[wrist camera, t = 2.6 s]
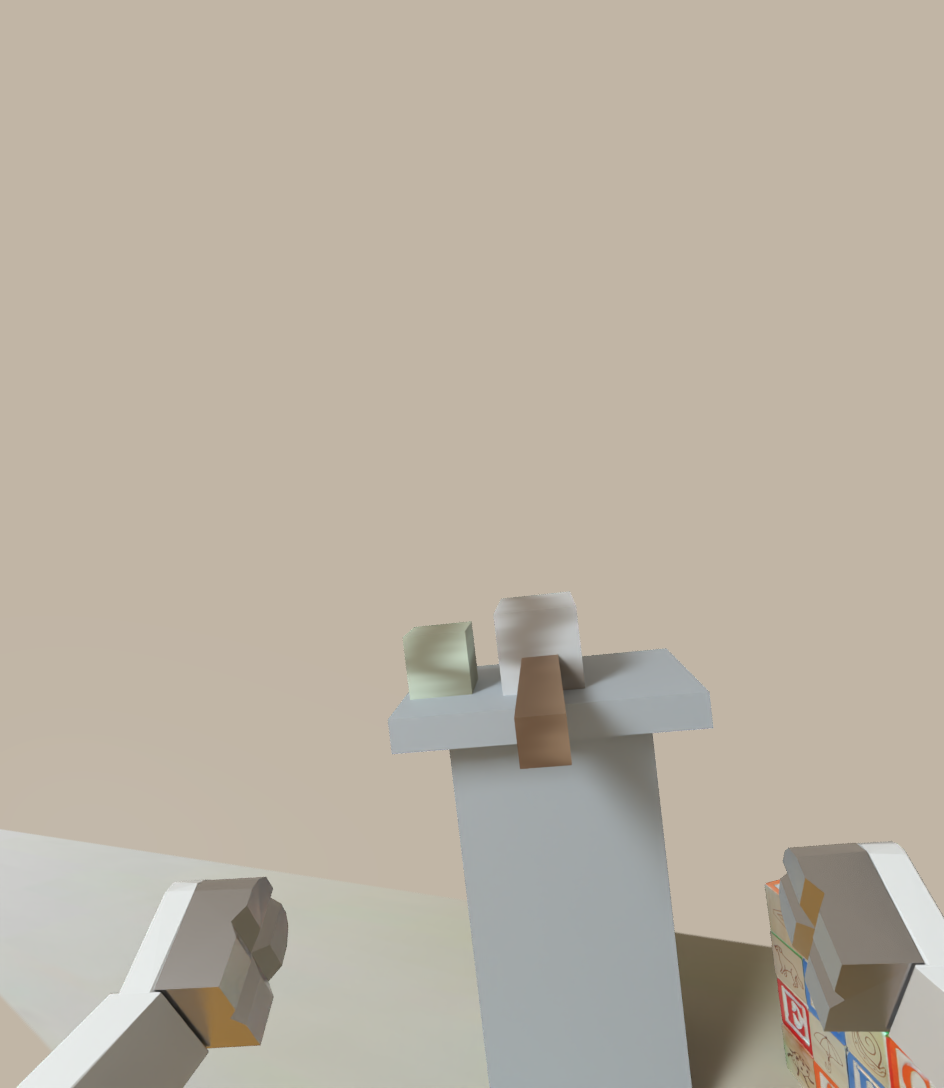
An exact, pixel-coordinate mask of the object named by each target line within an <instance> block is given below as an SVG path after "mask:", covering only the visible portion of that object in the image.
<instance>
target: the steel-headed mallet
mask: <svg viewBox="0 0 944 1088" xmlns="http://www.w3.org/2000/svg"><path fill="white" fill-rule="evenodd" d="M494 623H495V631H496V640H497V649H498V658H499V666H500V675H501V683H502V692H503V696H505V695H516V694H517V698H516V706H515V714H514V722H515V731H516V739H517V748H518V756H519V765H520V769H529V768H542V767H555V766H568V765H572V760H571V751H570V742H569V733H568V725H567V716H566V708H565V701H564V694H563V690H573V689H584V688H585V680H584V672H583V663H582V655H581V645H580V637H579V629H578V619H577V611H576V605H575V603H574V600H573V598H572V596H571V593H570V592H560V593H551V594H542V595H532V596H523V597H513V598H503V599H501V600H500V602H499V604H498V607H497V608H496V610H495V613H494Z"/></svg>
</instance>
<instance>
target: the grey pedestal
mask: <svg viewBox="0 0 944 1088" xmlns="http://www.w3.org/2000/svg"><path fill="white" fill-rule="evenodd" d="M582 663H583V672H584V680H585V688H584V689H573V690H563V694H564V701H565V708H566V716H567V725H568V733H569V742H570V751H571V760H572V765H568V766H555V767H542V768H529V769H520V765H519V756H518V748H517V739H516V731H515V722H514V714H515V706H516V698H517V694H516V695H505V696H503V692H502V683H501V675H500V666H499V664H497V665H486V666H477V672H478V681H477V683H476V686H475V688H474V691H473V694H469V695H458V696H447V697H436V698H425V699H413V700H410V694H409V693H408V694H407V695H406V697H405V698H404V699H403V700H402V702H401V703H400V705H399V706H398V707H397V708H396V710H395V711H394V712H393V714H392V715H391V716H390V718H389V719H388V725H389V733H390V741H391V750H392V754H398V753H411V752H423V751H435V750H448V749H449V750H450V758H451V766H452V775H453V783H454V792H455V800H456V808H457V817H458V825H459V832H460V842H461V850H462V858H463V867H464V875H465V884H466V892H467V901H468V909H469V917H470V926H471V934H472V942H473V951H474V959H475V968H476V976H477V984H478V993H479V1001H480V1009H481V1018H482V1026H483V1035H484V1043H485V1051H486V1060H487V1068H488V1077H489V1085H490V1088H692V1084H691V1075H690V1066H689V1057H688V1048H687V1039H686V1030H685V1021H684V1012H683V1003H682V994H681V985H680V976H679V968H678V959H677V950H676V941H675V932H674V923H673V914H672V905H671V896H670V888H669V878H668V870H667V860H666V851H665V842H664V833H663V825H662V816H661V807H660V797H659V788H658V780H657V771H656V761H655V753H654V744H653V735H652V733H658V732H670V731H682V730H695V729H708V728H713V722H712V712H711V703H710V694H709V691H708V690H707V689H706V688H705V687H704V686H703V685H702V684H701V683H700V682H699V681H698V680H697V679H696V678H695V677H694V676H693V675H692V674H691V673H690V672H689V671H688V670H687V669H686V668H685V667H684V666H683V665H682V664H681V663H680V662H679V661H678V660H677V659H676V658H675V657H674V656H673V655H672V654H671V653H670V652H669V651H668V650H667V649H656V650H645V651H635V652H625V653H614V654H603V655H592V656H582Z"/></svg>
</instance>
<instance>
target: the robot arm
mask: <svg viewBox="0 0 944 1088" xmlns="http://www.w3.org/2000/svg"><path fill="white" fill-rule="evenodd" d="M783 863H784V866H785V868H786V871H787V874H786V875H785V876H783V877H782V878H781V879H780V885H779V899H780V907H781V913H782V916H783V920H784V924H785V927H786V930H787V933H788V936H789V939H790V941H791V944H792V946H793V947H794V948H795V949H796V950H797V951H798V952H799V953H800V954H801V955H802V956H803V957H805V958H806V959H807V960H808V963H807V968H806V973H805V978H804V980H805V983H806V985H807V988H808V991H809V993H810V996H811V999H812V1001H813V1004H814V1007H815V1009H816V1012H817V1015H818V1017H819V1020H820V1023H821V1025H822V1028H823V1031H824V1032H889V1035H888V1036H889V1037H890V1038H891V1039H892V1040H893V1041H894V1042H895V1043H896V1044H897V1045H898V1046H899V1048H900V1049H901V1050H902V1051H903V1052H904V1053H905V1054H906V1055H907V1056H908V1057H909V1058H910V1059H911V1061H912V1062H913V1063H914V1064H915V1065H916V1066H917V1067H918V1068H919V1069H920V1070H921V1071H922V1072H923V1073H924V1075H925V1076H926V1077H927V1078H928V1079H929V1080H930V1081H931V1082H932V1083H933V1084H934V1085H935V1086H936V1088H944V916H943V915H942V913H941V911H940V909H939V908H938V906H937V904H936V903H935V901H934V899H933V897H932V896H931V894H930V893H929V891H928V889H927V887H926V886H925V884H924V882H923V880H922V879H921V877H920V875H919V874H918V872H917V870H916V868H915V867H914V865H913V863H912V862H911V860H910V858H909V857H908V855H907V853H906V851H905V850H904V849H903V848H902V847H901V846H900V845H898V844H897V843H895V842H892V841H888V842H873V843H848V844H834V845H822V846H808V847H794V848H788V849H787V850H785V853H784V858H783ZM272 890H273V887H272V886H271V884H270V883H269V881H268V879H267V878H266V877H256V878H238V879H220V880H193V881H179V882H174V883H173V884H172V885H171V886H170V887H169V889H168V890H167V891H166V892H165V894H164V896H163V898H162V900H161V902H160V904H159V906H158V909H157V911H156V913H155V915H154V917H153V920H152V922H151V924H150V926H149V928H148V931H147V933H146V935H145V937H144V939H143V942H142V944H141V946H140V948H139V950H138V953H137V955H136V957H135V959H134V961H133V963H132V966H131V968H130V970H129V972H128V974H127V977H126V979H125V981H124V983H123V985H122V988H121V990H120V992H119V993H110V994H109V995H108V996H107V997H106V998H105V999H104V1000H103V1001H102V1002H101V1003H100V1004H99V1005H98V1006H97V1007H96V1008H95V1009H94V1010H93V1011H92V1012H91V1013H90V1014H89V1015H88V1016H87V1017H86V1018H85V1019H84V1020H83V1021H82V1022H81V1023H80V1024H79V1025H78V1026H77V1027H76V1028H75V1029H74V1030H73V1031H72V1032H71V1033H70V1034H69V1035H68V1036H67V1037H66V1038H65V1039H64V1040H63V1041H62V1042H61V1043H60V1044H59V1045H58V1046H57V1047H56V1048H55V1049H54V1050H53V1051H52V1052H51V1053H50V1054H49V1055H48V1056H47V1057H46V1058H45V1059H44V1060H43V1061H42V1062H41V1063H40V1064H39V1065H38V1066H37V1067H36V1068H35V1069H34V1070H33V1071H32V1072H31V1073H30V1074H29V1075H28V1076H27V1077H26V1078H25V1079H24V1080H23V1081H22V1082H21V1083H20V1084H19V1085H18V1086H17V1087H16V1088H183V1087H184V1085H185V1084H186V1083H187V1081H188V1080H189V1079H190V1077H191V1076H192V1074H193V1073H194V1072H195V1070H196V1069H197V1068H198V1066H199V1065H200V1063H201V1062H202V1061H203V1059H204V1058H205V1057H206V1055H207V1054H208V1050H207V1048H223V1047H241V1046H259V1045H261V1041H262V1037H263V1034H264V1030H265V1026H266V1023H267V1019H268V1015H269V1012H270V1008H271V1004H272V1001H273V994H272V991H271V988H270V985H269V982H268V981H269V980H270V979H271V978H272V977H273V976H274V974H275V973H276V972H277V971H278V970H279V969H280V967H281V966H282V963H283V959H284V955H285V951H286V947H287V937H288V922H287V916H286V912H285V910H284V908H283V906H282V904H281V903H279V902H277V901H275V900H274V899H272V898H270V897H271V893H272Z"/></svg>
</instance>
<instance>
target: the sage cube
mask: <svg viewBox="0 0 944 1088" xmlns="http://www.w3.org/2000/svg"><path fill="white" fill-rule="evenodd" d="M403 645H404V653H405V660H406V669H407V678H408V686H409V694H410V700H413V699H425V698H436V697H447V696H458V695H469V694H473V691H474V688H475V686H476V683H477V681H478V672H477V664H476V656H475V647H474V638H473V630H472V622H461V623H451V624H441V625H431V626H422V627H414V628H413V629H412V630H411V631H410V632H409V633H407V634H406V635H405V636H404V637H403Z"/></svg>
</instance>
